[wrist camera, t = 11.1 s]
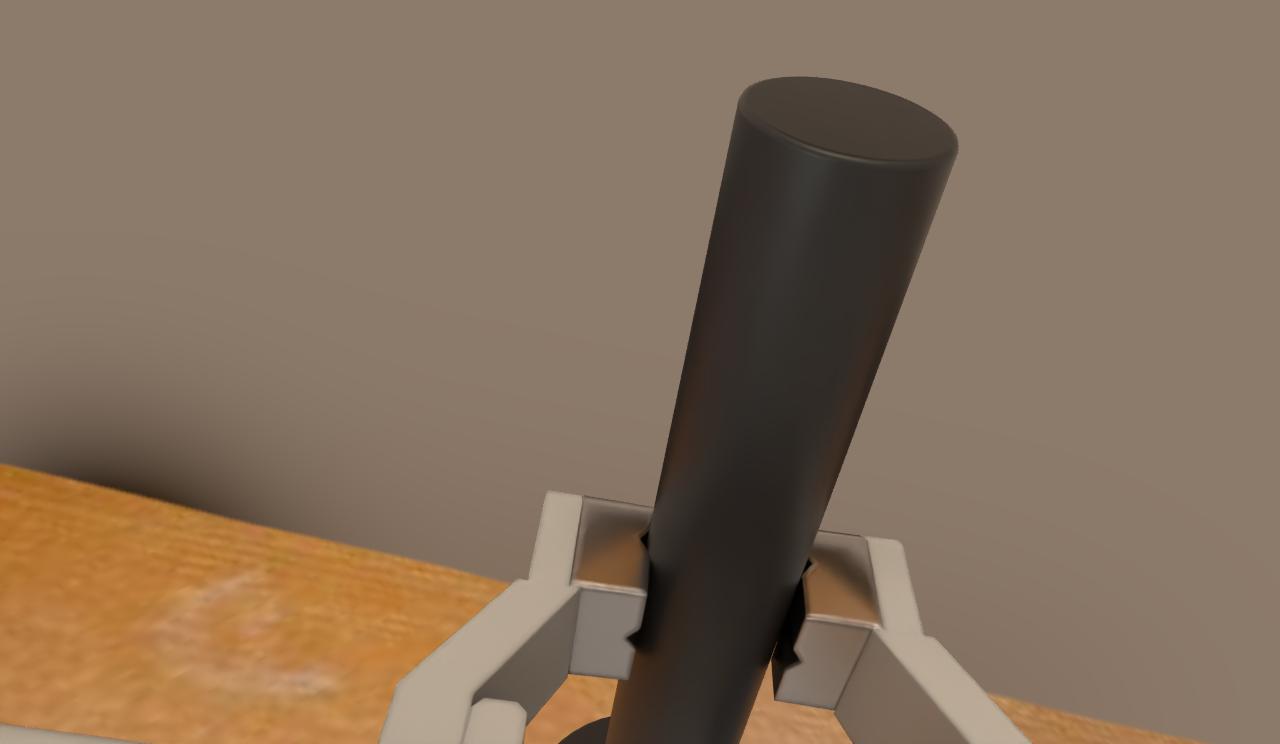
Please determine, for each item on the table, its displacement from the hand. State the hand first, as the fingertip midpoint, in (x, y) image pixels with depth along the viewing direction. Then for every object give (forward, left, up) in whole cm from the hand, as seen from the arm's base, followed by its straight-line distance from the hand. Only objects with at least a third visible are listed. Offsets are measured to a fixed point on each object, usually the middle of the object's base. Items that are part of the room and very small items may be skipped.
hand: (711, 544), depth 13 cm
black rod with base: (0, -1, -9) cm, 10 cm away
